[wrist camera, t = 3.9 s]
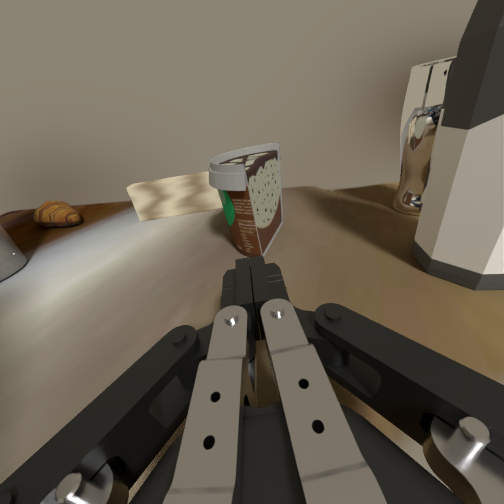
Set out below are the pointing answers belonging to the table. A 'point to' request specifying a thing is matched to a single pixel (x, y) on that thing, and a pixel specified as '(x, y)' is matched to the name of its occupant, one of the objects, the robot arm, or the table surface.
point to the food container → (250, 195)
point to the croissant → (56, 215)
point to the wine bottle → (469, 164)
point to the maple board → (174, 196)
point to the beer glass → (421, 130)
